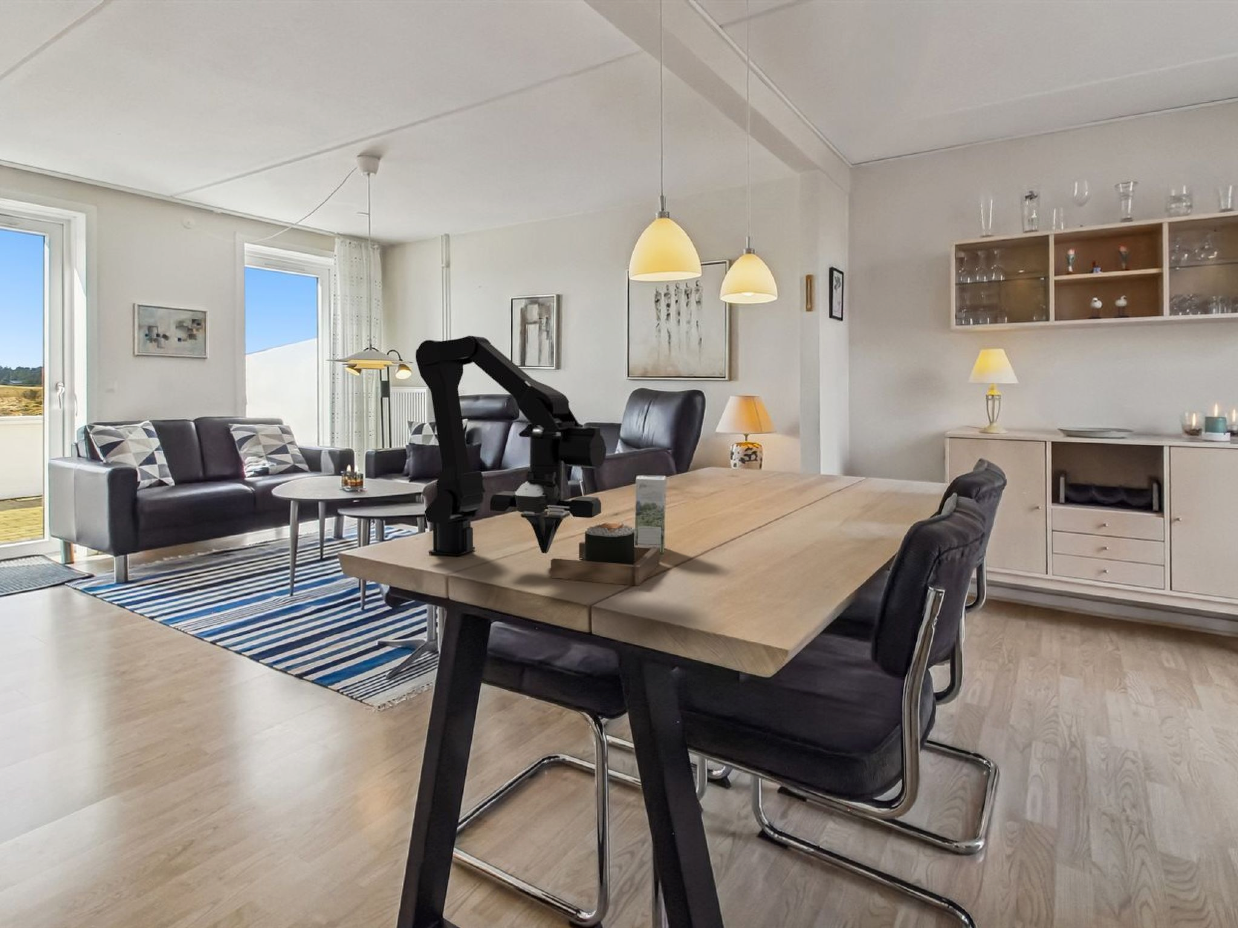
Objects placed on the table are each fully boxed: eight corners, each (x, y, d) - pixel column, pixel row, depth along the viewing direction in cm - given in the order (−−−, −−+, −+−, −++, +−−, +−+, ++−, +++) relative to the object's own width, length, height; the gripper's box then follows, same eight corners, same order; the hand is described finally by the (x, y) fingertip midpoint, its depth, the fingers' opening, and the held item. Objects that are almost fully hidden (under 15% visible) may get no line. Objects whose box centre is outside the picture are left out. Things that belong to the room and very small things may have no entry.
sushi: (577, 573, 118) (578, 526, 117) (599, 563, 125) (600, 519, 125) (621, 579, 114) (622, 531, 114) (641, 568, 122) (641, 523, 121)
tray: (550, 578, 114) (550, 560, 114) (581, 557, 129) (581, 541, 129) (638, 585, 110) (638, 567, 110) (659, 563, 125) (659, 547, 125)
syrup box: (665, 547, 139) (666, 474, 138) (664, 554, 133) (665, 478, 132) (636, 546, 139) (637, 474, 138) (634, 553, 134) (635, 477, 132)
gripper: (475, 465, 116) (475, 558, 118) (582, 471, 111) (580, 568, 113) (504, 459, 127) (503, 544, 128) (603, 465, 122) (600, 553, 123)
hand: (544, 552), depth 123 cm, fingers closed
